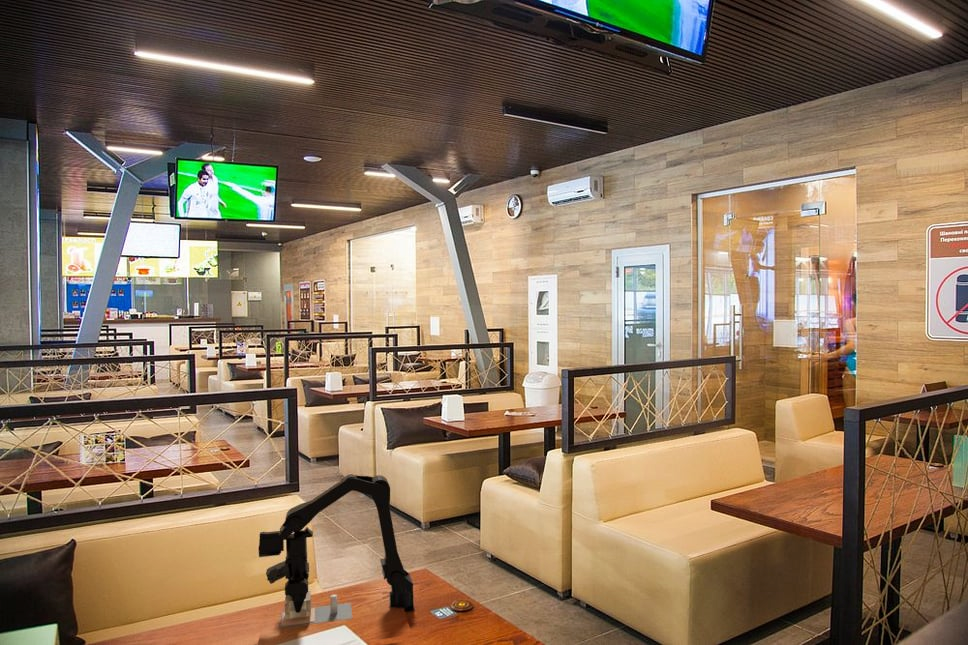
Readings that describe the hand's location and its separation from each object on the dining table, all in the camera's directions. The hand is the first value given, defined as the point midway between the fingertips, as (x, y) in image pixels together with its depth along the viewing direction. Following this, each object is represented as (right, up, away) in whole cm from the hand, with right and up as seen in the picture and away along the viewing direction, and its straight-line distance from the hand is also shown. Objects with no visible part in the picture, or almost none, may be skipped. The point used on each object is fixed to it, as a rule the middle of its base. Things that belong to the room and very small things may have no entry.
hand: (298, 606), depth 192 cm
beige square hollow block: (0, -2, 0) cm, 2 cm away
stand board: (+5, -4, +1) cm, 6 cm away
